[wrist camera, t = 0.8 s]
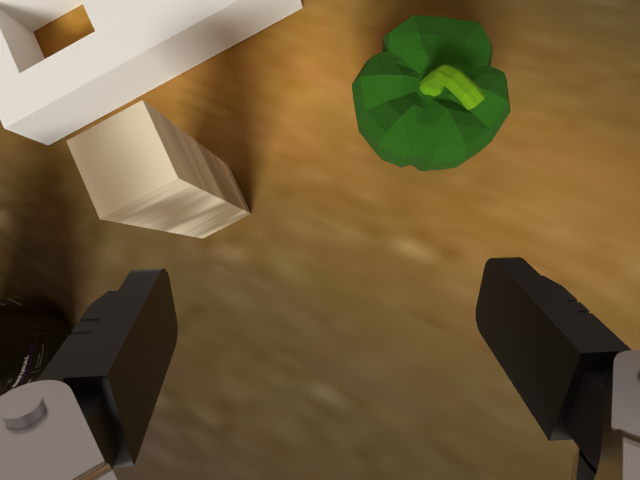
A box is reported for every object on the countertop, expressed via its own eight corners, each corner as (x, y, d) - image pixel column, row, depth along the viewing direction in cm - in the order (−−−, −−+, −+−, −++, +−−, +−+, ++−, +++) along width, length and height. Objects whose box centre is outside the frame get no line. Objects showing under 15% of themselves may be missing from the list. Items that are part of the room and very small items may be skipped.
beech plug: (228, 165, 31) (142, 99, 19) (251, 213, 30) (178, 178, 18) (180, 190, 31) (66, 141, 19) (202, 238, 31) (99, 219, 19)
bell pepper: (339, 98, 30) (327, 14, 20) (449, 55, 30) (491, -53, 20) (380, 206, 29) (387, 174, 20) (494, 164, 29) (561, 110, 19)
